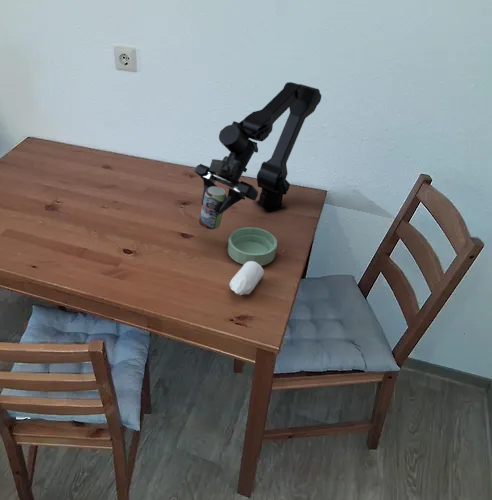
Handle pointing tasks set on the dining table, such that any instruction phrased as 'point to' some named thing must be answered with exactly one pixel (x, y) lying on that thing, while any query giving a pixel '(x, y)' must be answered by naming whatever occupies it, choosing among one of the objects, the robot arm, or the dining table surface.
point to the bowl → (252, 246)
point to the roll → (246, 278)
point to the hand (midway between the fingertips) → (210, 209)
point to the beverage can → (212, 207)
